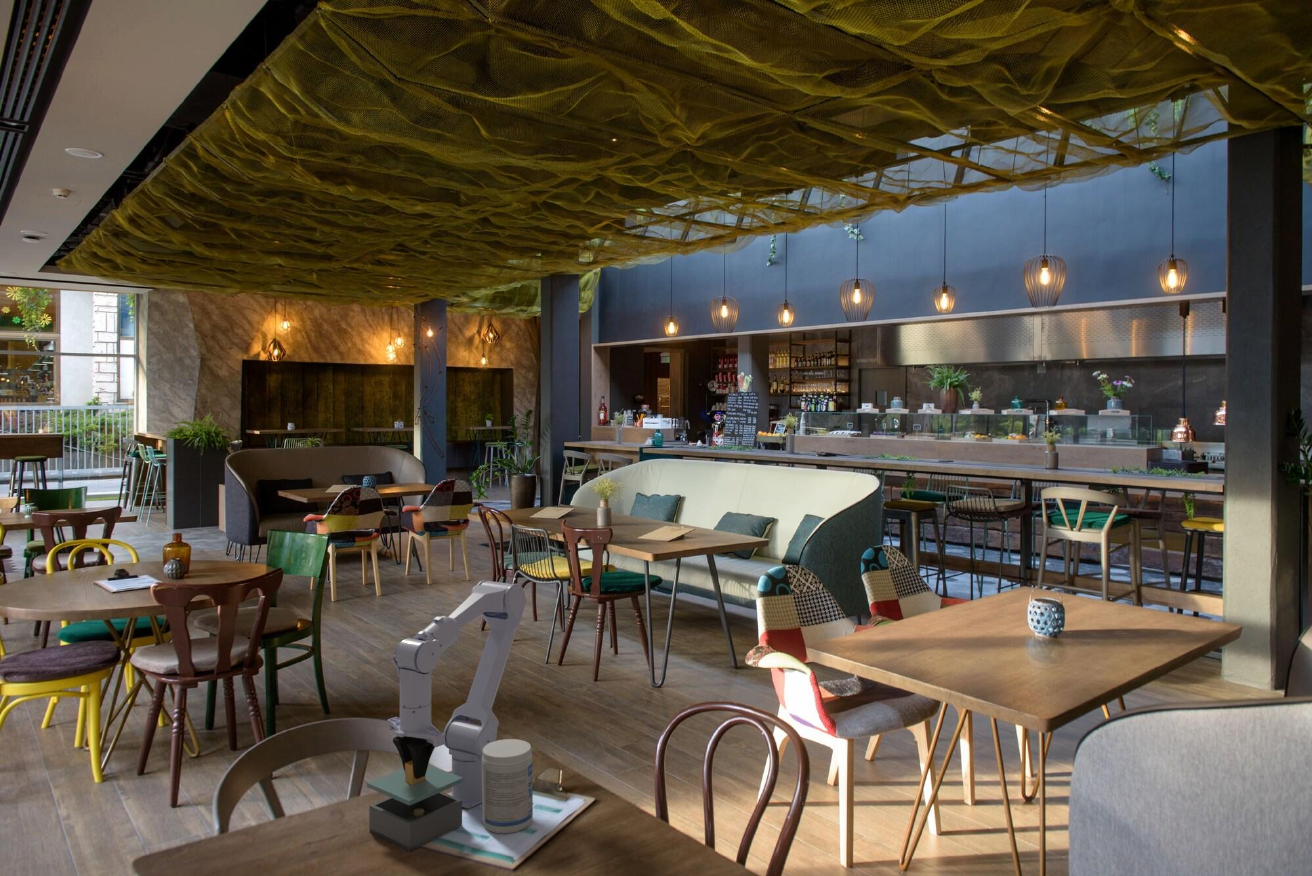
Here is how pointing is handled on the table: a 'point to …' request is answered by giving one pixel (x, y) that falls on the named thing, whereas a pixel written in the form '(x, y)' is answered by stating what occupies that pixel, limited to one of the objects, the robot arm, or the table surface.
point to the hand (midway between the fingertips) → (415, 775)
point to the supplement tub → (507, 786)
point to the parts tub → (415, 820)
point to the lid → (414, 784)
